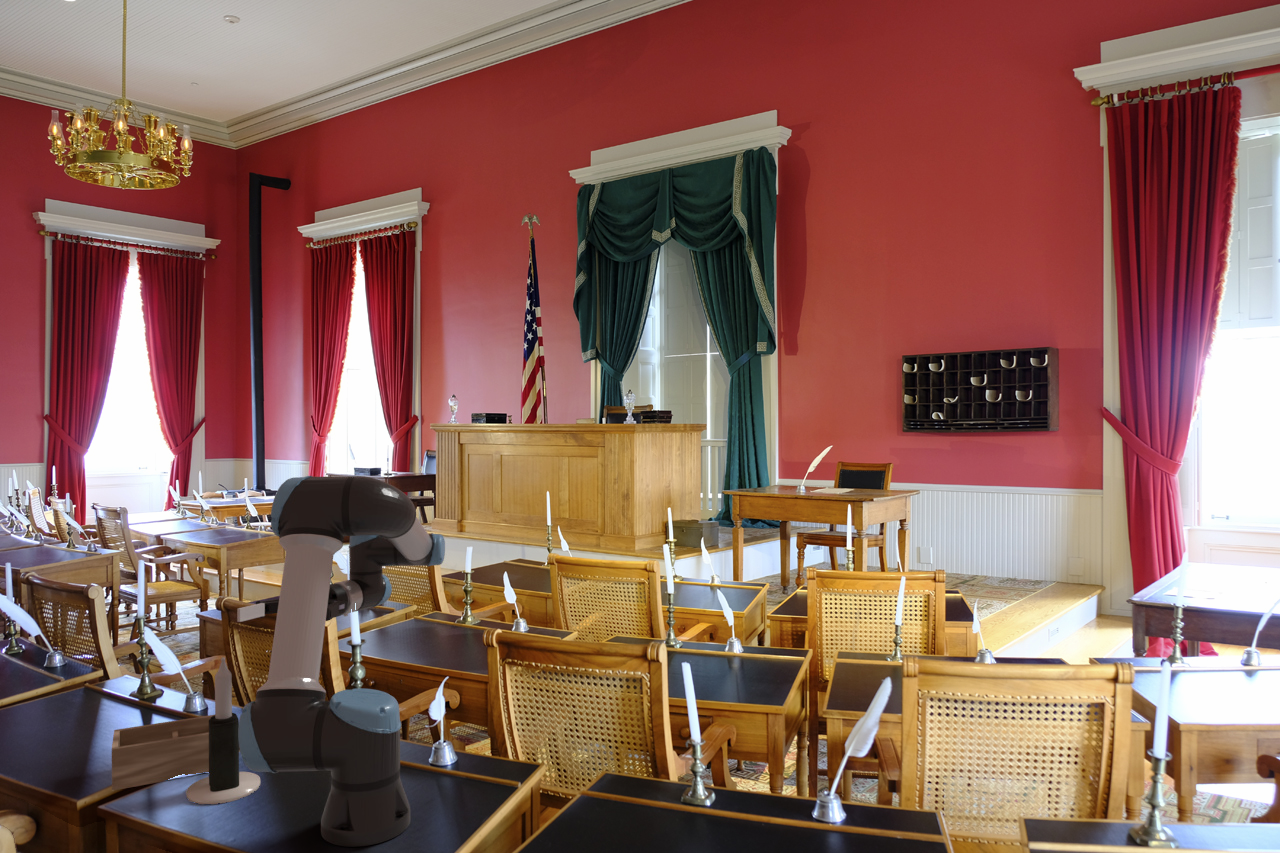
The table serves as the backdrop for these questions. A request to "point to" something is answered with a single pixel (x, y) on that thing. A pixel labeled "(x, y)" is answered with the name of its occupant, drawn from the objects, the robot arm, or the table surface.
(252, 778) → the plate
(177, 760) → the candle box
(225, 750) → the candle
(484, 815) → the table surface
